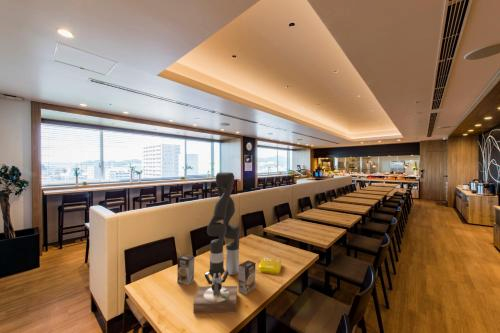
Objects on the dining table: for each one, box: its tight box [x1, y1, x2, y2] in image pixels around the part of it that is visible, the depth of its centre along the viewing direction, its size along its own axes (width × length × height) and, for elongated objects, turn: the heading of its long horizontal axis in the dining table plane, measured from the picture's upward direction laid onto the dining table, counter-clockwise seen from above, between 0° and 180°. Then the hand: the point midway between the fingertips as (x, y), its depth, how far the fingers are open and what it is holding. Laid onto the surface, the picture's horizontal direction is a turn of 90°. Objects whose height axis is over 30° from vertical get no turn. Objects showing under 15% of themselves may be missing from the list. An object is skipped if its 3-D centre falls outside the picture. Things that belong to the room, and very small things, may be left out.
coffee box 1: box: [177, 253, 195, 285], centre depth 137 cm, size 9×6×16 cm
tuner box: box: [192, 285, 238, 314], centre depth 116 cm, size 15×22×6 cm
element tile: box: [258, 257, 282, 275], centre depth 155 cm, size 15×15×5 cm
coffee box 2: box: [237, 259, 256, 296], centre depth 128 cm, size 9×6×16 cm
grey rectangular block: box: [213, 278, 220, 301], centre depth 114 cm, size 10×4×7 cm, turn 5°
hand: (216, 290), depth 116 cm, fingers closed on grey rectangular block, 2 cm apart
